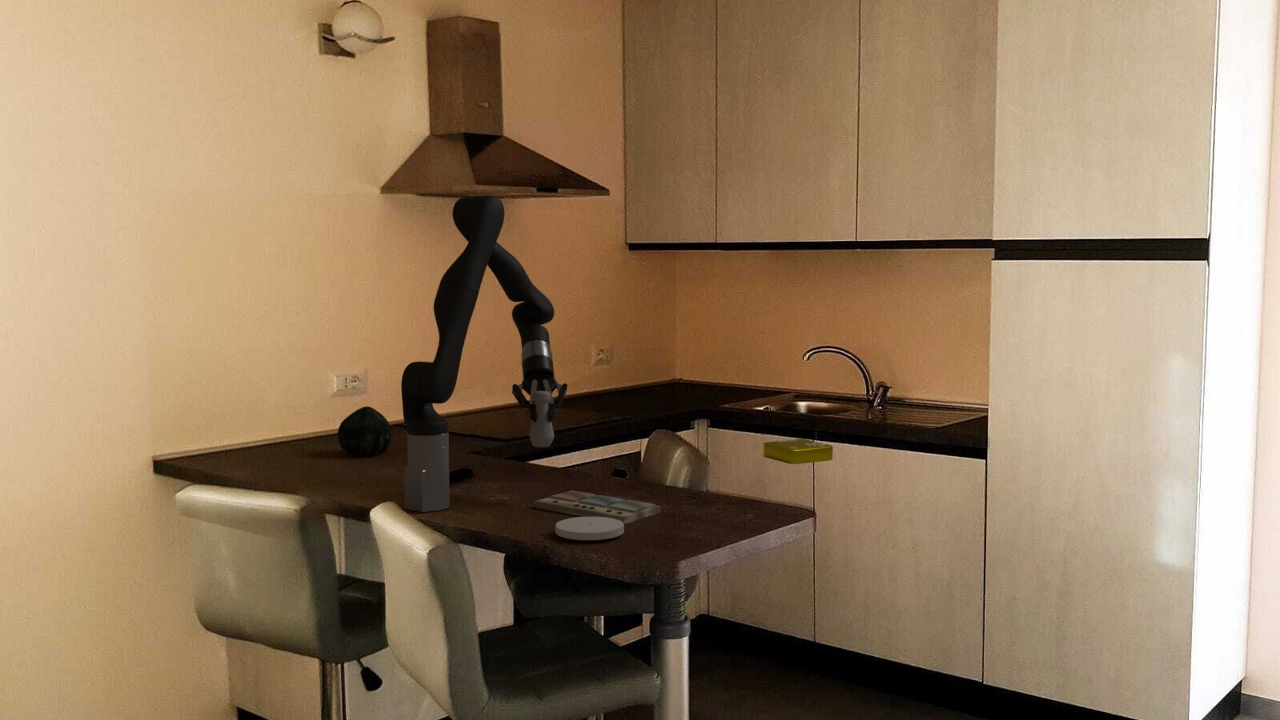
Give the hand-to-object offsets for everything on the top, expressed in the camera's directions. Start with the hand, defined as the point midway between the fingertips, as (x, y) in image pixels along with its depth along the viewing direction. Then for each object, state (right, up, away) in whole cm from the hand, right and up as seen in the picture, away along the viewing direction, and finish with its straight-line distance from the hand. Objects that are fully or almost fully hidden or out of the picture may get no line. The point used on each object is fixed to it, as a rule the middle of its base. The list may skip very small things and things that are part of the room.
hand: (542, 419), depth 266 cm
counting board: (+13, -20, -10) cm, 26 cm away
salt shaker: (0, -6, +3) cm, 7 cm away
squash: (-56, -13, +61) cm, 84 cm away
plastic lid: (+12, -22, -32) cm, 41 cm away
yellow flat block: (+67, -14, +55) cm, 88 cm away
